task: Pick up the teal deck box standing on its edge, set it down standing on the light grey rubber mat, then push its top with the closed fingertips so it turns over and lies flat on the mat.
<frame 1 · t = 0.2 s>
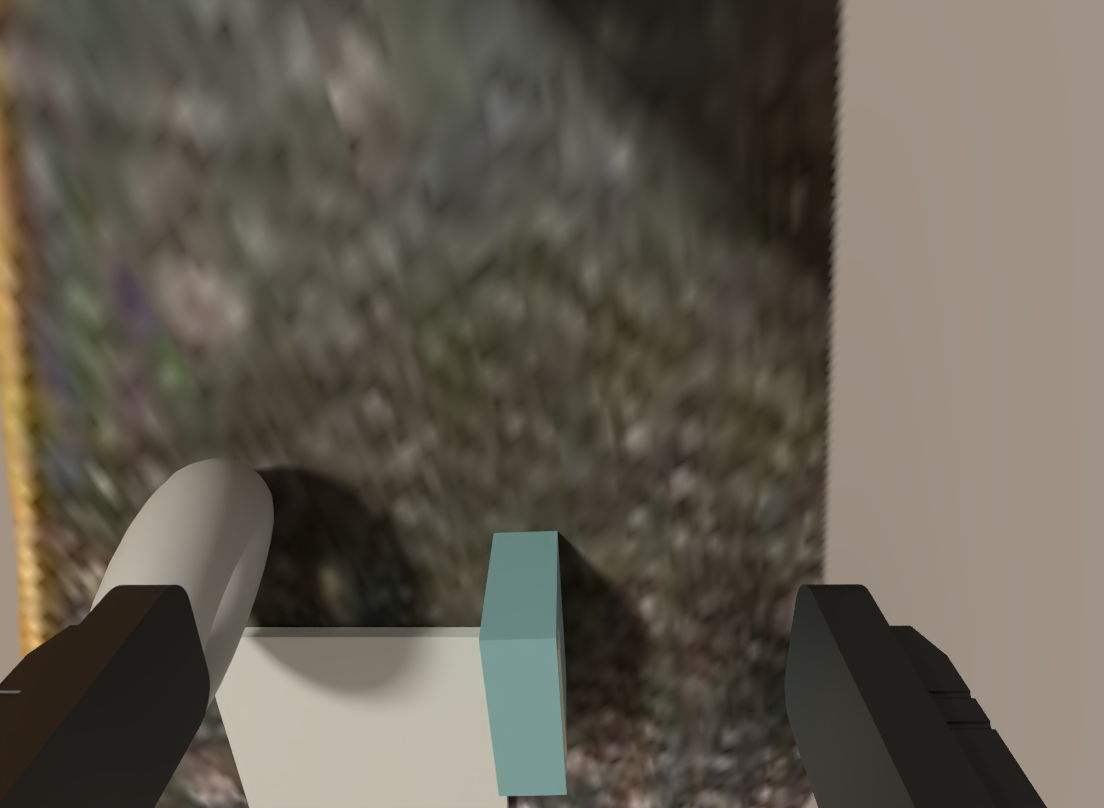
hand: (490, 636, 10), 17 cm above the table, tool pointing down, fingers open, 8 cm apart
deck box: (532, 606, 32), on the table
donut: (245, 511, 30), on the table
mat: (369, 737, 36), on the table
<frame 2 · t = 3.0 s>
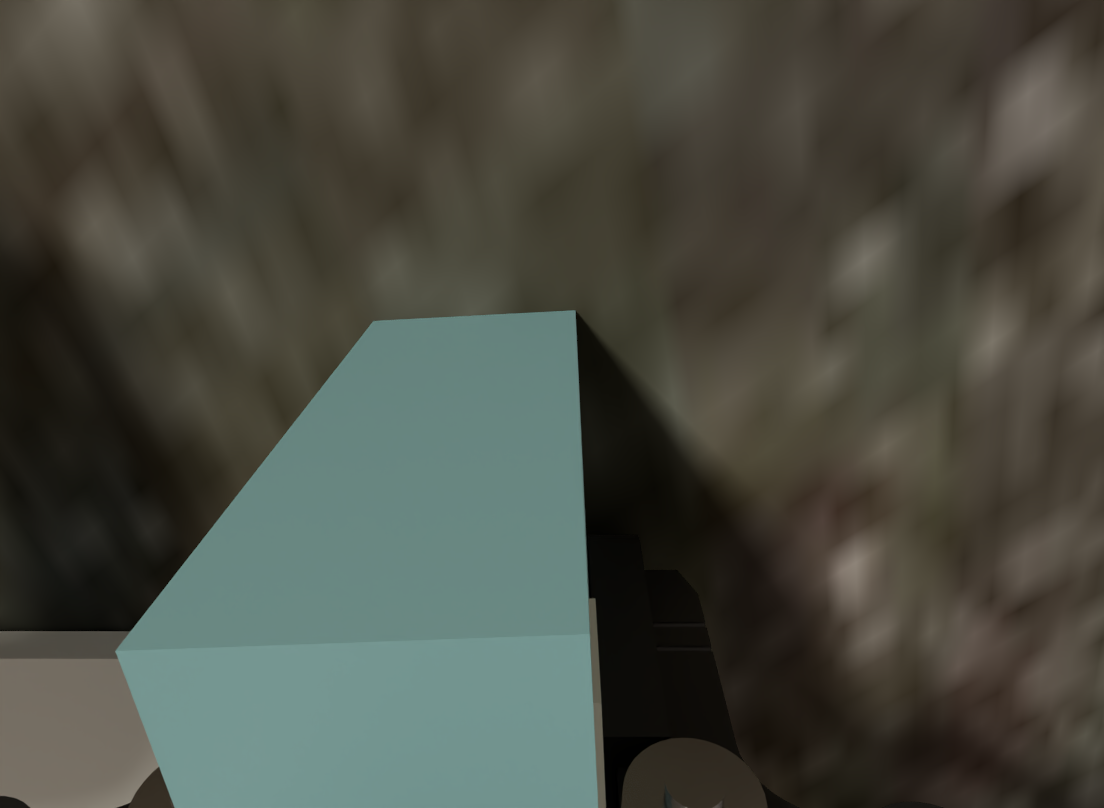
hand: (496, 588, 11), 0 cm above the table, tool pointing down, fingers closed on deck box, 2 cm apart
deck box: (501, 572, 11), on the table, touching gripper, mat
when the fingers open (2 cm above the table, at t = 7.3 s): deck box stays where it is, resting on mat.
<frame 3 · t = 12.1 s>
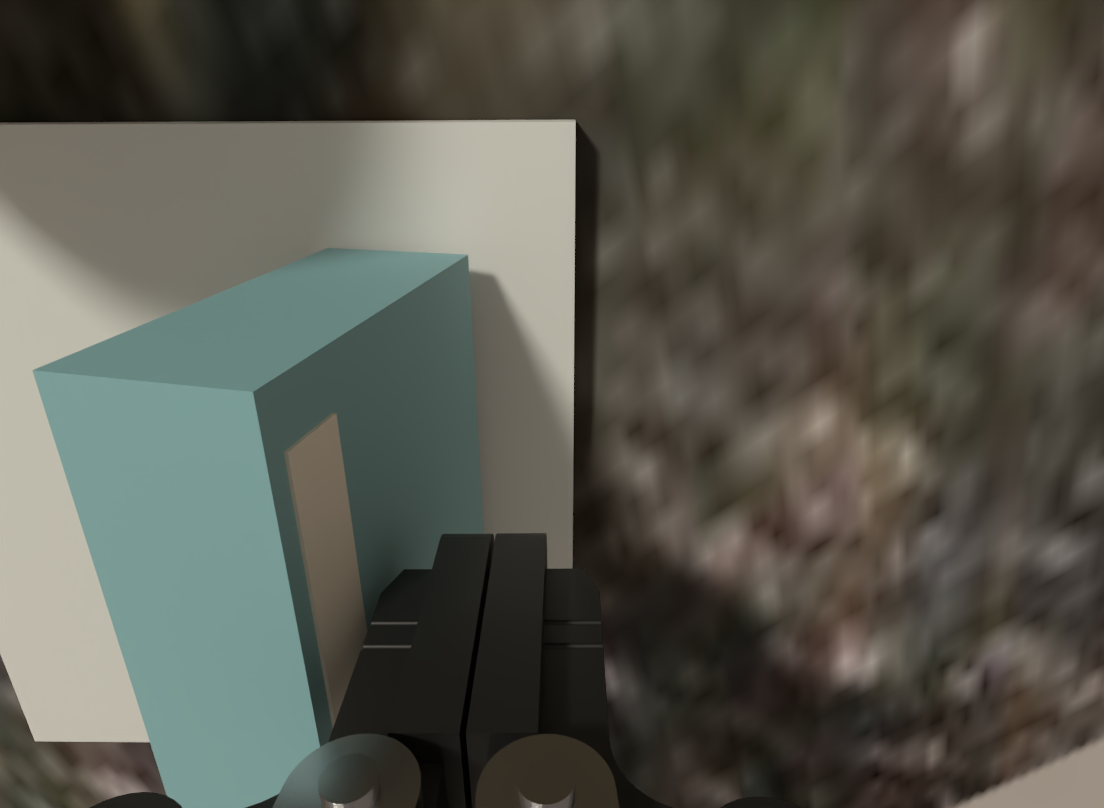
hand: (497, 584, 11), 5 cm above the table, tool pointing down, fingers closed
deck box: (416, 457, 14), point 1 cm above the table, tilted 13°, touching mat
mat: (263, 477, 16), on the table
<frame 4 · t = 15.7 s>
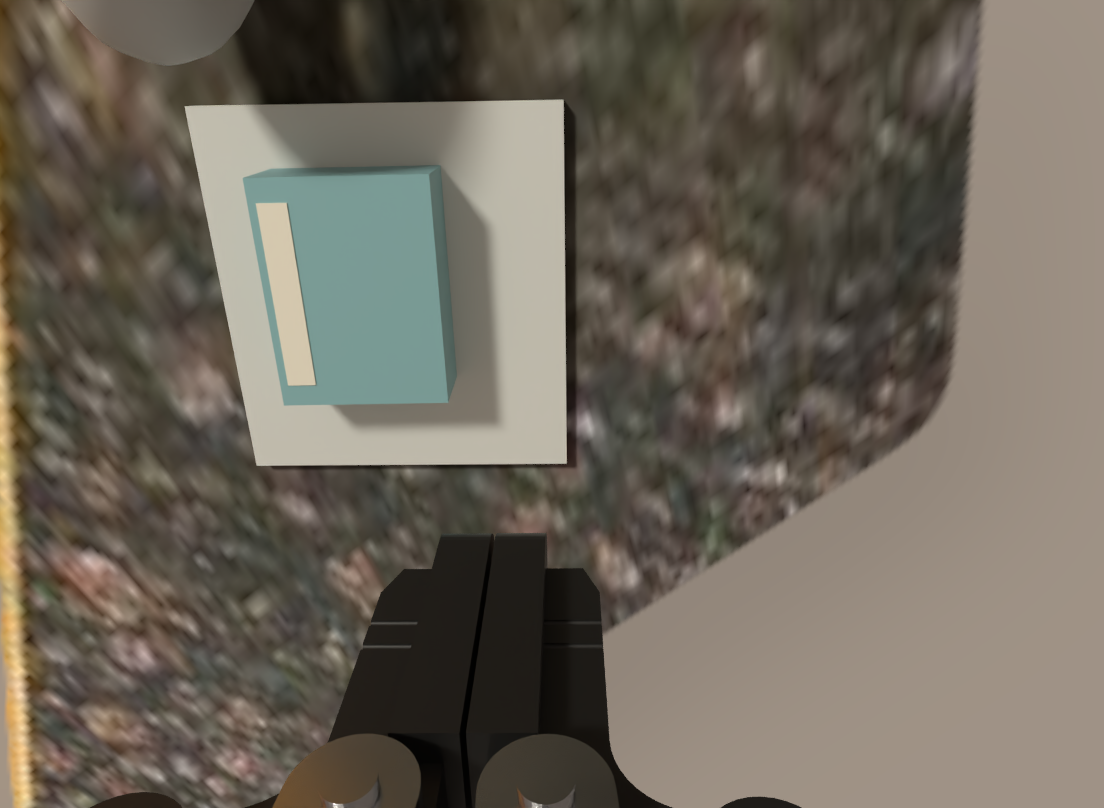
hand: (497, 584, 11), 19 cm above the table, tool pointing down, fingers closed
deck box: (444, 285, 27), point 2 cm above the table, tilted 89°, touching mat
mat: (397, 297, 29), on the table
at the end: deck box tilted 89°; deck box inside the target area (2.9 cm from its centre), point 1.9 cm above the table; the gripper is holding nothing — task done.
